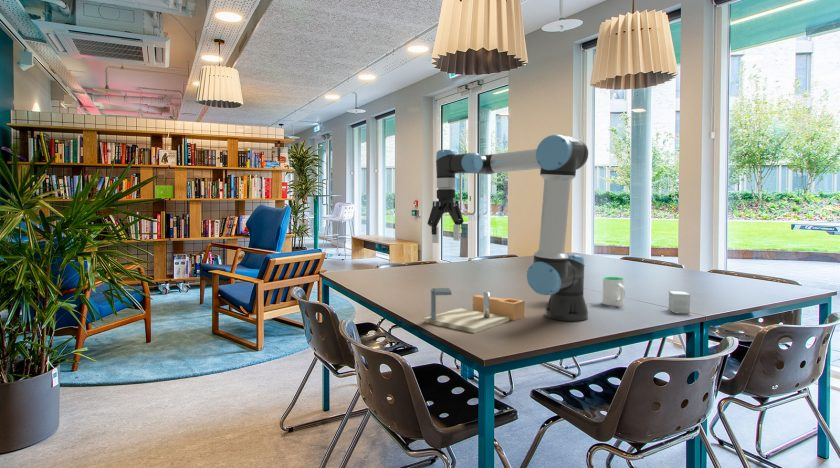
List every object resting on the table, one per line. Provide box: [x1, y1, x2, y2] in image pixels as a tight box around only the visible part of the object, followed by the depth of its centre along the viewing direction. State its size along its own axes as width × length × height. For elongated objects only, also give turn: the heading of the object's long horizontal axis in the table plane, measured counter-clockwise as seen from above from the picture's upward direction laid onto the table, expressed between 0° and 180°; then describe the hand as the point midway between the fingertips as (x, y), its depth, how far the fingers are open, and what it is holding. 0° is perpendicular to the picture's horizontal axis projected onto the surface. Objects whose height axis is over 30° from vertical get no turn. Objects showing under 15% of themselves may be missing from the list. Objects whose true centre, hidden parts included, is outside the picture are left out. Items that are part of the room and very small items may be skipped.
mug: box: [602, 276, 626, 307], centre depth 209 cm, size 12×8×10 cm
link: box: [472, 294, 526, 321], centre depth 193 cm, size 20×7×6 cm, turn 49°
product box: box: [667, 290, 691, 314], centre depth 196 cm, size 6×6×7 cm
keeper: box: [430, 287, 452, 320], centre depth 181 cm, size 7×7×10 cm
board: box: [423, 307, 510, 334], centre depth 183 cm, size 22×21×2 cm
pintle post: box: [483, 291, 491, 318], centre depth 182 cm, size 2×2×9 cm
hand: (446, 241), depth 208 cm, fingers open, 13 cm apart
